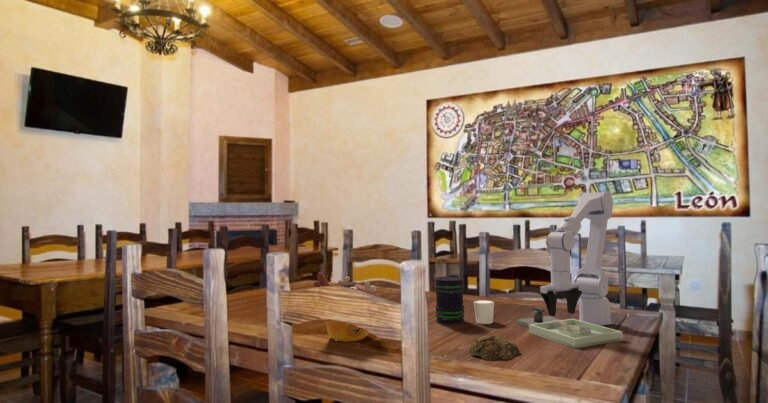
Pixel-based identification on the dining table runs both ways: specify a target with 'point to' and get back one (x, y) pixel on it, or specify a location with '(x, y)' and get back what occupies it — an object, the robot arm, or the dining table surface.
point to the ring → (571, 329)
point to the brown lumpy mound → (493, 348)
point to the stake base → (530, 320)
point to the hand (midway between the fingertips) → (561, 314)
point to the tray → (597, 337)
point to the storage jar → (449, 300)
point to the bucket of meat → (340, 329)
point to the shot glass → (484, 311)
